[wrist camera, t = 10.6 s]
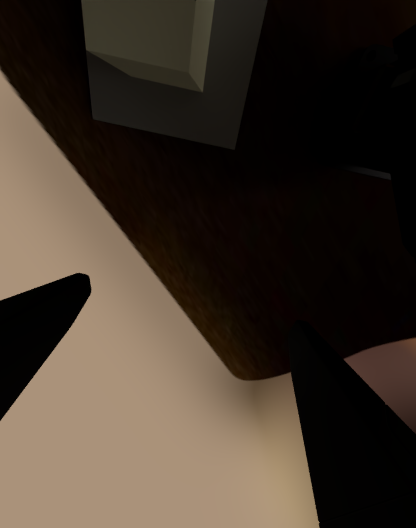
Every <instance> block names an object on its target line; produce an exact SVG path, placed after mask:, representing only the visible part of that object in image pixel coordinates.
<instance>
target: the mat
mask: <svg viewBox="0 0 416 528" xmlns="http://www.w3.org/2000/svg"><path fill="white" fill-rule="evenodd" d="M266 5H267V0H215V3H214V10H213V18H212V25H211V33H210V40H209V48H208V55H207V63H206V70H205V78H204V85H203V92H199V91H194V90H190V89H185V88H181V87H176V86H172V85H167V84H163V83H158V82H154V81H149V80H145V79H140V78H136V77H132V76H129V75H128V74H126V73H124V72H123V71H121V70H119V69H118V68H116V67H114V66H113V65H111V64H109V63H108V62H106V61H104V60H102V59H101V58H99V57H97V56H96V55H94V54H92V53H91V52H89V51H87V50H86V56H87V66H88V76H89V86H90V96H91V106H92V117H93V119H95V120H99V121H104V122H108V123H113V124H118V125H122V126H127V127H131V128H136V129H141V130H145V131H150V132H154V133H159V134H164V135H168V136H173V137H178V138H182V139H187V140H191V141H196V142H201V143H205V144H210V145H214V146H219V147H224V148H228V149H233V150H235V145H236V141H237V136H238V131H239V127H240V122H241V118H242V113H243V109H244V104H245V100H246V95H247V91H248V86H249V82H250V77H251V73H252V68H253V64H254V59H255V55H256V50H257V45H258V41H259V36H260V32H261V27H262V23H263V18H264V14H265V9H266ZM81 6H82V1H81ZM82 16H83V11H82ZM83 26H84V22H83ZM84 36H85V32H84ZM85 46H86V43H85Z"/></svg>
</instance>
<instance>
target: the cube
mask: <svg viewBox="0 0 416 528" xmlns="http://www.w3.org/2000/svg"><path fill="white" fill-rule="evenodd" d="M81 1H82V11H83V22H84V32H85V43H86V50H87V51H89V52H91V53H92V54H94V55H96V56H97V57H99V58H101V59H102V60H104V61H106V62H108V63H109V64H111V65H113V66H114V67H116V68H118V69H119V70H121V71H123V72H124V73H126V74H128V75H129V76H132V77H136V78H140V79H145V80H149V81H154V82H158V83H163V84H167V85H172V86H176V87H181V88H185V89H190V90H194V91H199V92H203V85H204V78H205V70H206V63H207V55H208V48H209V40H210V33H211V25H212V18H213V10H214V3H215V0H81Z"/></svg>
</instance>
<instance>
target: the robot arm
mask: <svg viewBox="0 0 416 528" xmlns="http://www.w3.org/2000/svg"><path fill="white" fill-rule="evenodd" d="M393 47H394V48H391V47H386V46H382V45H377V44H373V45H371V46H369V47H368V48H366V49H365V50H364V51H363V52H362V53H361V55H360V57H359V59H358V62H357V64H356V66H355V69H354V71H353V73H352V76H351V78H350V81H349V82H347V83H346V84H345V85H343V87H342V89H341V92H340V94H339V97H338V99H337V101H336V104H335V106H334V109H333V111H332V114H331V116H330V118H329V121H328V123H327V126H326V128H325V132H326V134H327V135H326V138H325V140H324V143H323V145H322V147H321V150H320V152H319V155H318V158H317V161H318V163H319V164H321V165H324V166H329V167H334V168H338V169H343V170H347V171H352V172H357V173H361V174H366V175H370V176H375V177H380V178H384V179H389V180H391V181H392V186H393V192H394V198H395V203H396V209H397V214H398V220H399V226H400V231H401V237H402V242H403V245H404V246H405V248H406V249H407V251H408V252H409V253H410V255H411V256H412V257H414V258H415V263H416V24H415V25H413V26H412V27H410V28H409V29H407V30H406V31H404V32H403V33H402V34H400V35H399V36H397V37H396V38H394V39H393ZM369 52H370V53H372V60H371V61H370V62H368V61H367V59H366V57H367V54H368V53H369ZM325 154H327V155H328V158H327V160H326V161H323V156H324V155H325ZM90 294H91V285H90V278H89V276H88V275H86V274H82V273H76V274H73V275H70V276H68V277H65V278H62V279H59V280H56V281H54V282H51V283H48V284H45V285H43V286H40V287H37V288H34V289H31V290H29V291H26V292H23V293H20V294H17V295H15V296H12V297H9V298H6V299H3V300H1V301H0V421H1V419H2V418H3V416H4V415H5V414H6V413H7V411H8V410H9V408H10V407H11V406H12V405H13V403H14V402H15V401H16V399H17V398H18V397H19V395H20V394H21V393H22V391H23V390H24V389H25V387H26V386H27V385H28V383H29V382H30V381H31V379H32V378H33V376H34V375H35V374H36V373H37V371H38V370H39V369H40V367H41V366H42V365H43V363H44V362H45V361H46V359H47V358H48V357H49V355H50V354H51V353H52V351H53V350H54V348H55V347H56V346H57V345H58V343H59V342H60V341H61V339H62V338H63V337H64V335H65V334H66V333H67V331H68V330H69V328H70V327H71V326H72V324H73V323H74V321H75V319H76V318H77V316H78V314H79V313H80V311H81V309H82V308H83V306H84V304H85V303H86V301H87V299H88V297H89V296H90ZM288 342H289V355H290V368H291V376H292V381H293V387H294V392H295V397H296V403H297V408H298V414H299V418H300V424H301V430H302V435H303V440H304V446H305V451H306V457H307V462H308V467H309V473H310V478H311V483H312V489H313V494H314V499H315V505H316V510H317V516H318V521H319V522H320V523H319V527H320V528H416V434H415V433H414V432H413V431H412V430H411V429H410V428H409V427H408V426H407V425H406V424H405V423H404V422H403V421H402V420H401V419H400V418H399V417H398V416H397V415H396V413H394V411H393V410H392V409H391V408H390V407H389V406H388V405H385V402H384V401H383V400H382V399H381V398H380V397H379V396H378V395H377V394H376V393H375V392H374V391H373V390H372V389H371V388H370V387H369V385H368V384H367V383H366V382H365V381H364V380H363V379H362V378H361V377H360V376H359V375H358V374H357V373H356V372H355V371H354V370H353V369H352V368H351V367H350V366H349V365H348V364H347V363H346V362H345V361H344V359H343V358H342V357H341V356H340V355H339V354H338V353H337V352H336V351H335V350H334V349H333V348H332V347H331V346H330V345H329V344H328V343H327V342H326V341H325V340H324V339H323V338H322V337H321V336H320V335H319V333H318V332H317V331H316V330H315V329H314V328H313V327H312V326H311V325H310V324H309V323H308V322H306V321H301V320H297V321H296V322H295V323H294V325H293V326H292V328H291V330H290V331H289V334H288Z"/></svg>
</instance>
